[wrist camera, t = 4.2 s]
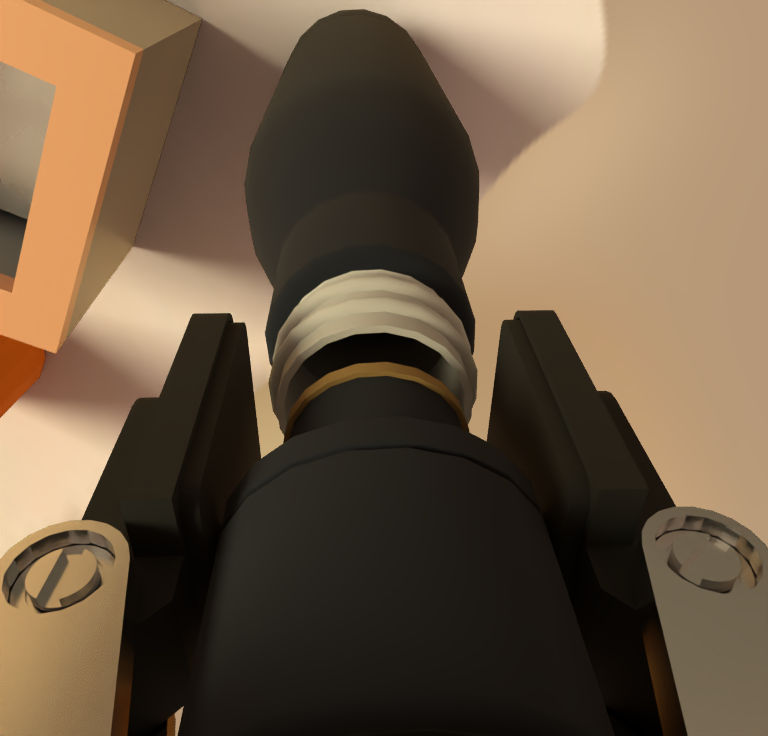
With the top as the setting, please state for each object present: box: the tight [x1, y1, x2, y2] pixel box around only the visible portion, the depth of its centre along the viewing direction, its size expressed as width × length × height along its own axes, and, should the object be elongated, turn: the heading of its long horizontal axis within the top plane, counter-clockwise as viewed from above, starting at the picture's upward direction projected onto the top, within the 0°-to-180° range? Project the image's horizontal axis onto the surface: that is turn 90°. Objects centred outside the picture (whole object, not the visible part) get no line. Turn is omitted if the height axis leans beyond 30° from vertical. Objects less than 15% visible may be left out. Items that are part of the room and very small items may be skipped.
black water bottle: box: [178, 9, 615, 736], centre depth 18 cm, size 6×6×30 cm
